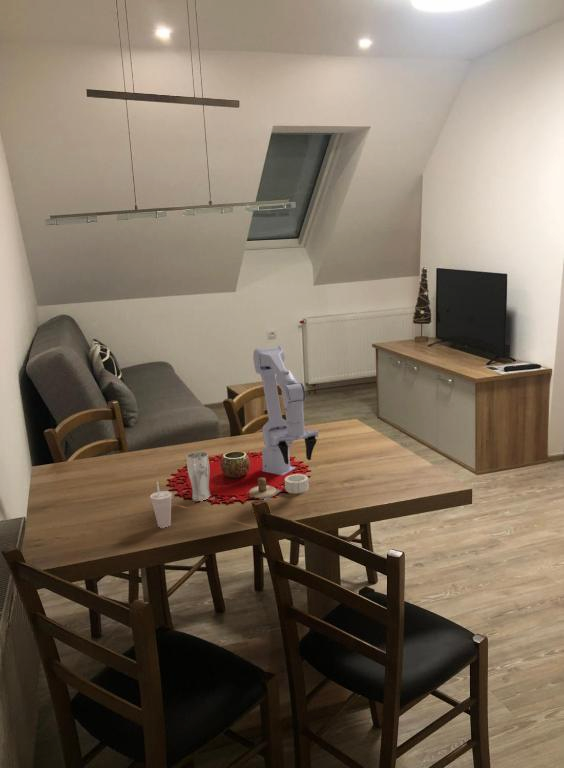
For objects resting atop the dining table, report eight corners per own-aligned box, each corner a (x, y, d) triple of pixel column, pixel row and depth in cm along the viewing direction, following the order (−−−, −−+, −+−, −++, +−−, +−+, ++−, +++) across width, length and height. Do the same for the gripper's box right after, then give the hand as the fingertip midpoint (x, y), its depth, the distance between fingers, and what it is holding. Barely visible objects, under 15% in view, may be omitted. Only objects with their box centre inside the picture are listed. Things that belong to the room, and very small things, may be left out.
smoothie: (154, 521, 191) (149, 478, 188) (176, 519, 192) (171, 476, 189) (152, 531, 185) (146, 486, 182) (174, 529, 186) (169, 484, 182)
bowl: (281, 491, 207) (280, 480, 207) (294, 483, 213) (293, 472, 212) (299, 496, 203) (299, 484, 202) (313, 487, 209) (312, 476, 208)
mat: (243, 496, 206) (243, 495, 206) (260, 486, 213) (260, 485, 213) (265, 501, 201) (265, 500, 200) (282, 491, 208) (282, 490, 207)
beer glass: (215, 495, 208) (211, 451, 205) (206, 503, 202) (202, 459, 199) (196, 493, 211) (192, 450, 207) (187, 502, 204) (182, 458, 201)
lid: (244, 495, 206) (242, 481, 205) (260, 485, 213) (259, 472, 211) (264, 500, 201) (263, 485, 200) (281, 490, 207) (280, 476, 206)
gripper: (277, 427, 197) (280, 468, 200) (320, 420, 201) (323, 461, 204) (270, 421, 203) (273, 462, 206) (312, 415, 208) (315, 454, 211)
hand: (297, 461), depth 206 cm, fingers open, 7 cm apart
